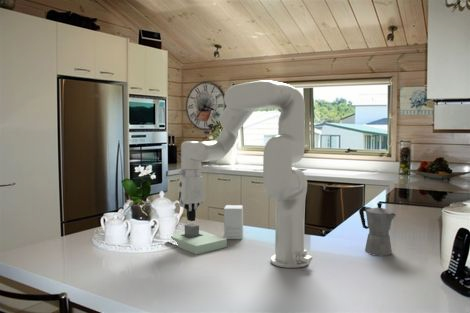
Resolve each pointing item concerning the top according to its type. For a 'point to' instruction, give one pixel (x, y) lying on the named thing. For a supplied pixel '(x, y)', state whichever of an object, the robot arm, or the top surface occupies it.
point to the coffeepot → (377, 229)
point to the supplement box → (233, 221)
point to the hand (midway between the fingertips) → (191, 220)
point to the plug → (191, 230)
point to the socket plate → (199, 242)
